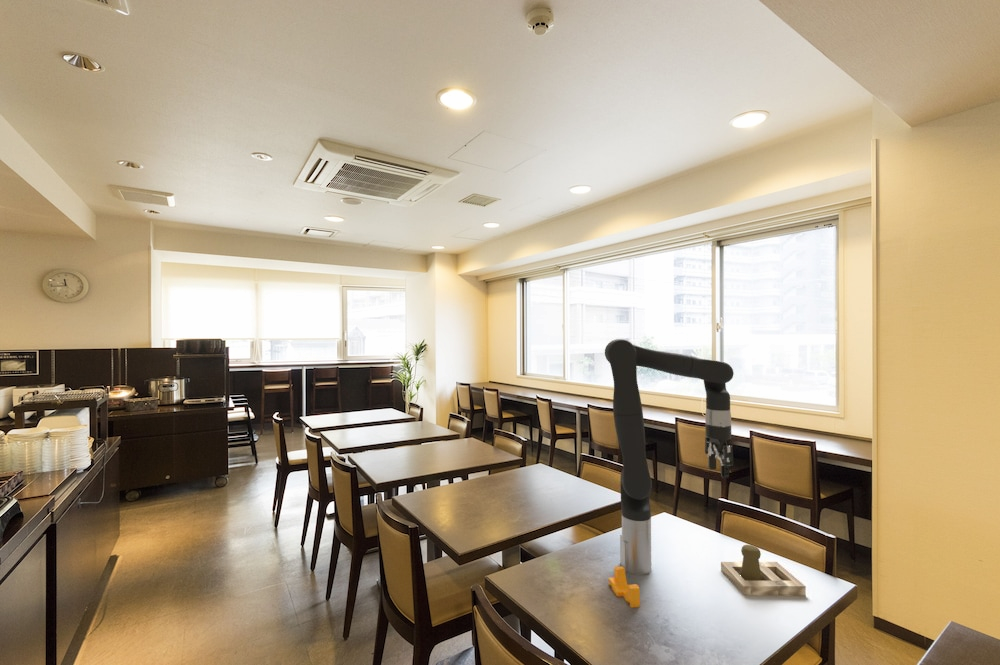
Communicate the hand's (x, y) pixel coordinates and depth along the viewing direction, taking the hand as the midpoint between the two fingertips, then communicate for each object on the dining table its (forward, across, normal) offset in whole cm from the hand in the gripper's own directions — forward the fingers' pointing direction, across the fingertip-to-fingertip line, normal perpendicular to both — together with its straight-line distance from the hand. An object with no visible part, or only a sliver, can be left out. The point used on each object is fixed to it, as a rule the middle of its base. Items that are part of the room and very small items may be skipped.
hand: (718, 473), depth 145 cm
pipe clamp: (+32, +14, -34) cm, 49 cm away
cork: (+32, +6, +7) cm, 33 cm away
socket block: (+32, +6, +10) cm, 34 cm away
